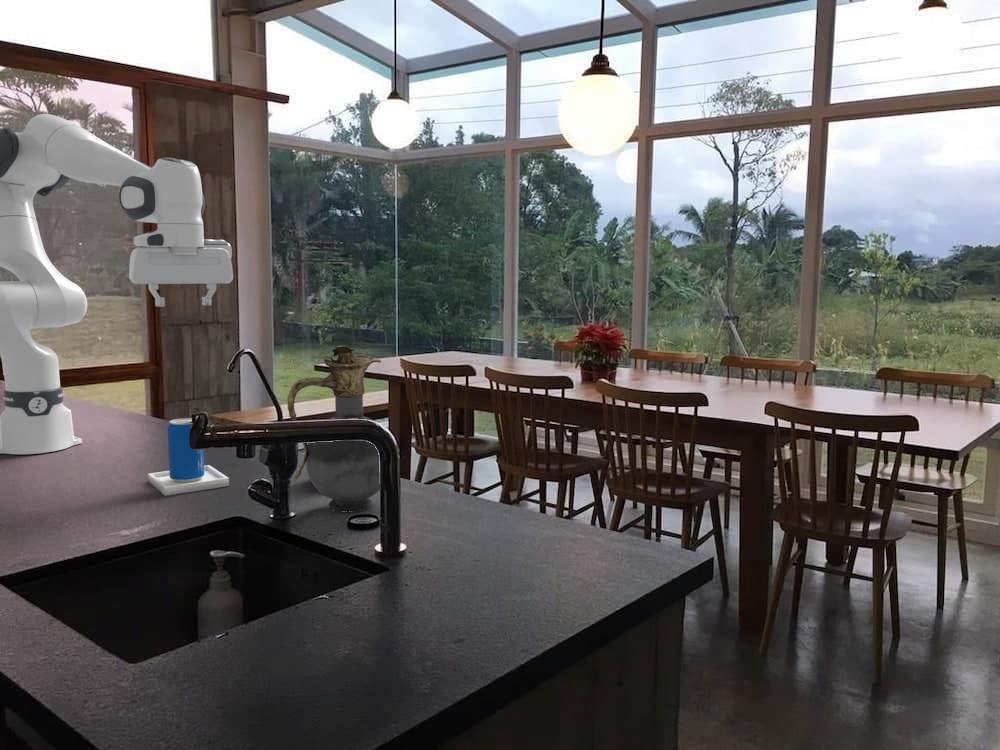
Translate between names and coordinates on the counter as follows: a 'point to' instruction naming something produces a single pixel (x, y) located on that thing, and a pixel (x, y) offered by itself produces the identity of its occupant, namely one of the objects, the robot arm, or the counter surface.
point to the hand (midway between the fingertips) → (183, 305)
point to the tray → (171, 487)
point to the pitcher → (342, 464)
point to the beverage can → (183, 453)
